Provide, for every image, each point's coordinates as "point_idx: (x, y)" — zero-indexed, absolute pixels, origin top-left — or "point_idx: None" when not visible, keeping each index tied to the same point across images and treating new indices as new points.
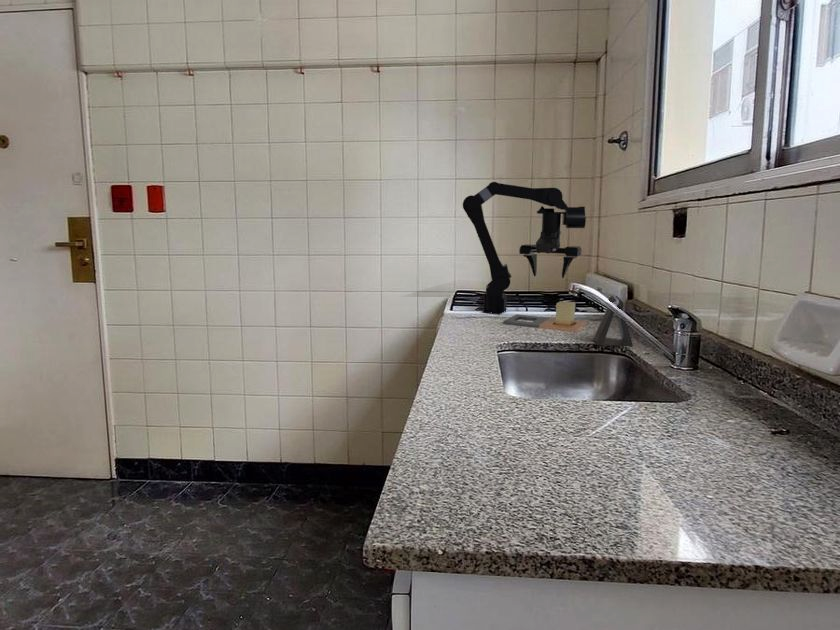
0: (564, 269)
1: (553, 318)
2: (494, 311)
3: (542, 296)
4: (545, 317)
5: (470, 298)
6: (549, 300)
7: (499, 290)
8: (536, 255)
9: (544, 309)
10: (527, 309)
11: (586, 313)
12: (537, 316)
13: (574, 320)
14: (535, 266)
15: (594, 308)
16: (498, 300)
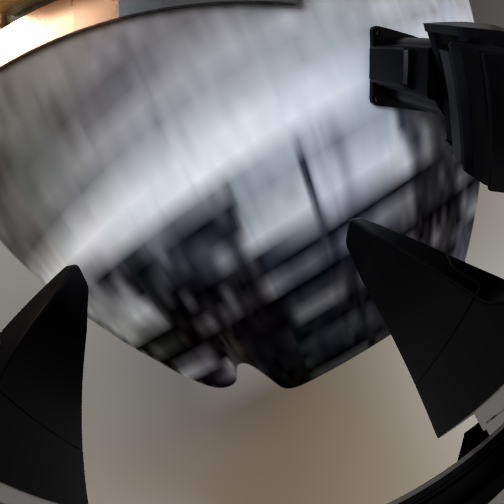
0: (20, 320)
1: (101, 12)
2: (397, 37)
3: (311, 369)
4: (143, 6)
5: (467, 246)
6: (281, 349)
7: (451, 23)
8: (439, 422)
9: (243, 224)
10: (306, 184)
11: (76, 252)
12: (187, 3)
13: (17, 50)
14: (400, 298)
15: (112, 332)
16: (419, 44)
